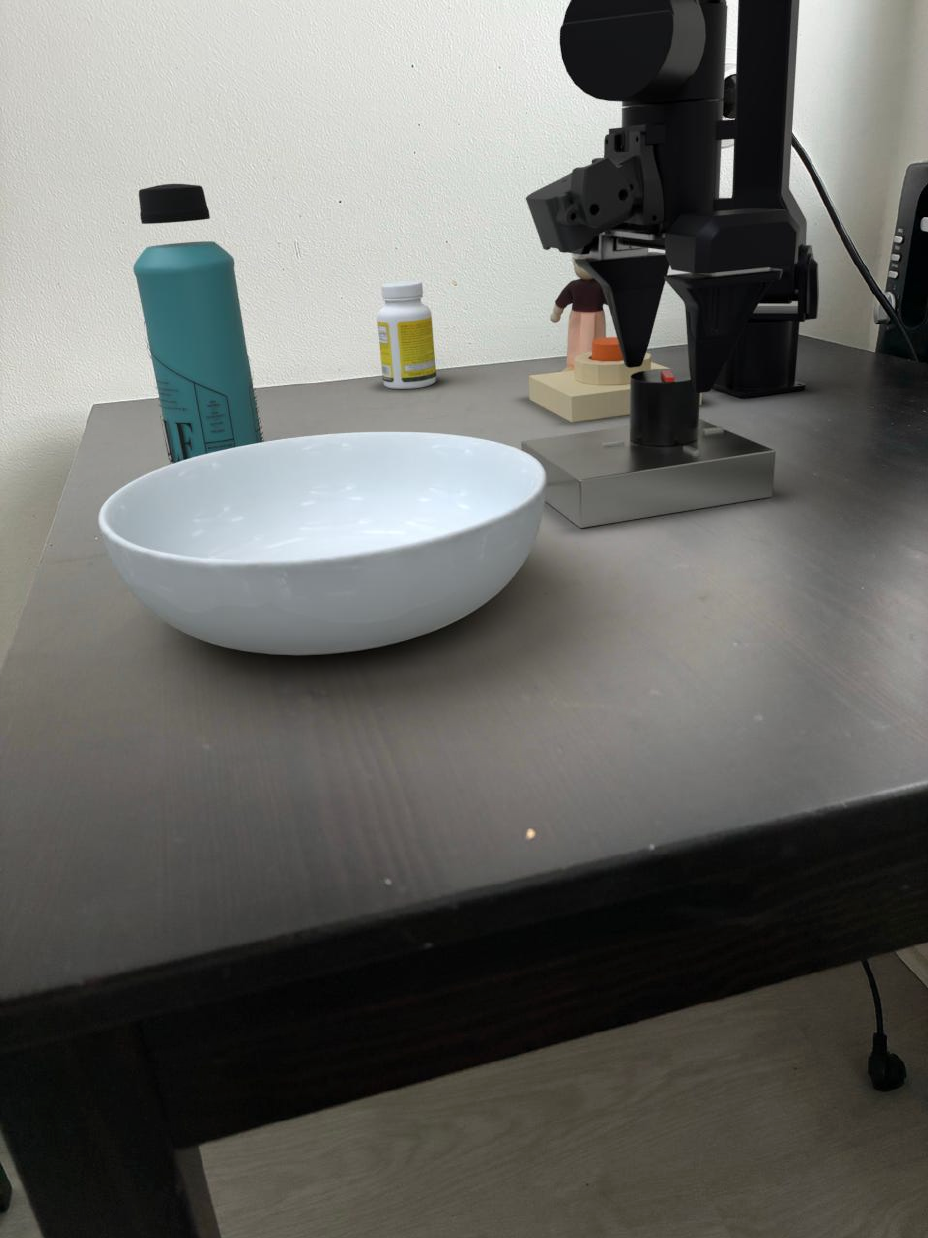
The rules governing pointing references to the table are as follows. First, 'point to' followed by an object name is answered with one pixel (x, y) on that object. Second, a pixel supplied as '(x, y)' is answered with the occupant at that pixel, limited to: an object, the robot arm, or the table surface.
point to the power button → (606, 349)
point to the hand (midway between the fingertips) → (665, 378)
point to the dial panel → (649, 473)
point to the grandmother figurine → (581, 313)
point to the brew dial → (663, 407)
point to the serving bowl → (326, 538)
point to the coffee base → (588, 388)
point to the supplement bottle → (406, 337)
